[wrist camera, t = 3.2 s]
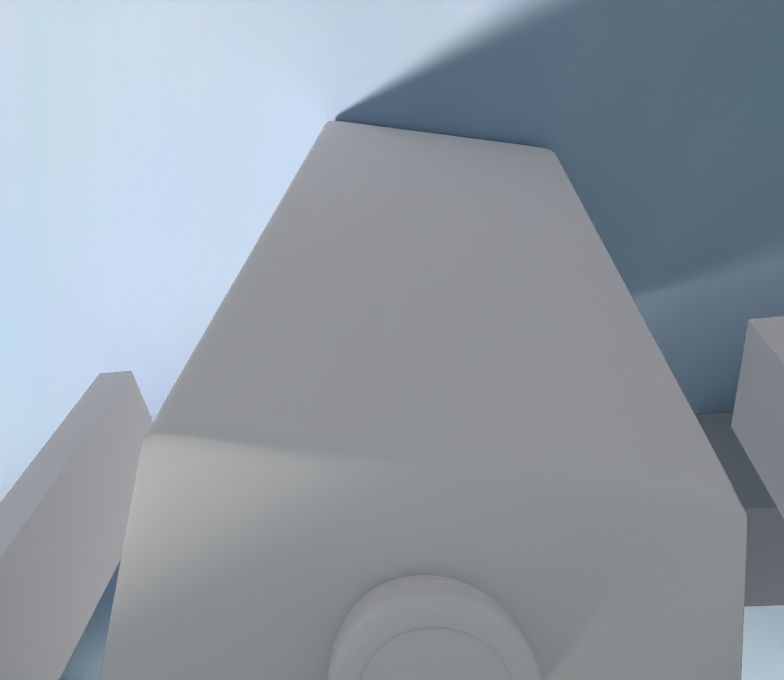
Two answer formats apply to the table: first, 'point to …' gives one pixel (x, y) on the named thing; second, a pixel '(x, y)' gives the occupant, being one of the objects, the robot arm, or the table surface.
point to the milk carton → (428, 448)
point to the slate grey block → (751, 513)
